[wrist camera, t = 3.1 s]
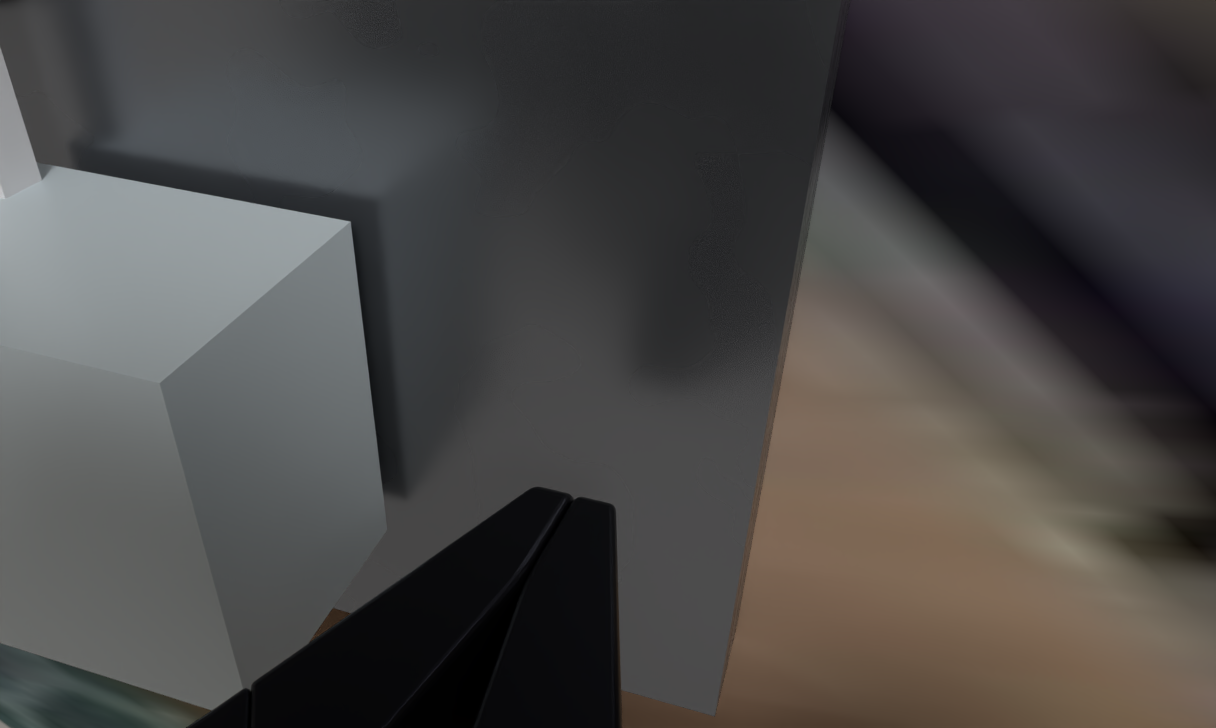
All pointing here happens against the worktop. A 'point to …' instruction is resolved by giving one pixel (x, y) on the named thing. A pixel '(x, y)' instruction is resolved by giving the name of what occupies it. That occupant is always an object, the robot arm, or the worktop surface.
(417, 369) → the gauge base
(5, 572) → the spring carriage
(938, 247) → the worktop surface
